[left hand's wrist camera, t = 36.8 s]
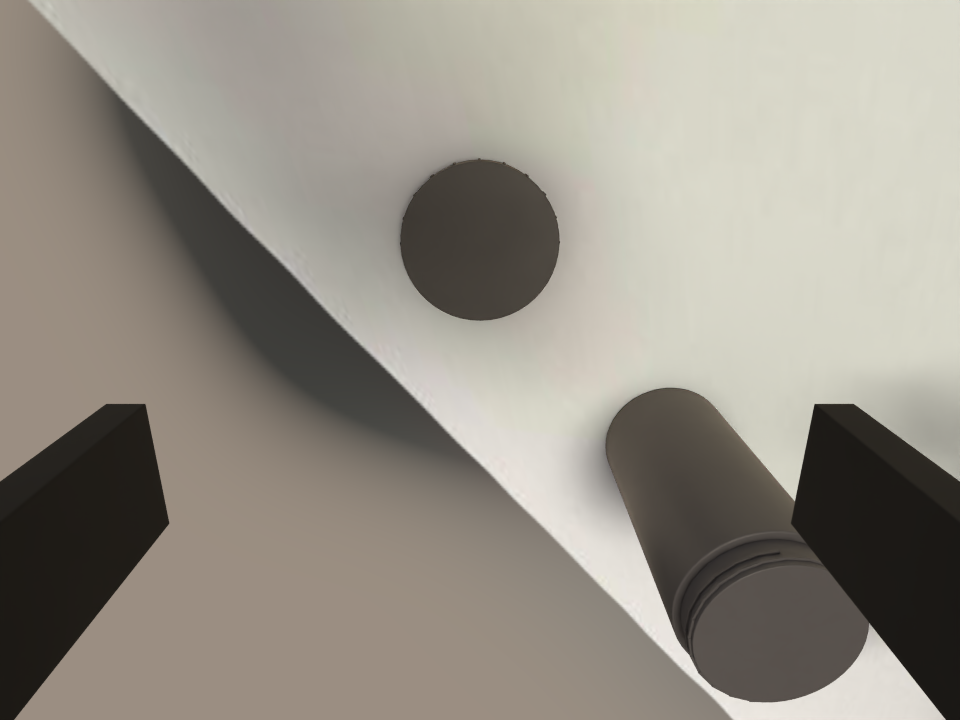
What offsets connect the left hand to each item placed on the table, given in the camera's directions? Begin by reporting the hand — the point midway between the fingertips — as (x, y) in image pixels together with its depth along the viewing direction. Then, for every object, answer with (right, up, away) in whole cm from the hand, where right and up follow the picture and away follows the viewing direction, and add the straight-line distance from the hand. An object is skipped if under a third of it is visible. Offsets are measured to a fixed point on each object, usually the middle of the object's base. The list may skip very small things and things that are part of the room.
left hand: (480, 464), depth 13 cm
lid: (0, +9, +26) cm, 27 cm away
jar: (+13, -4, +32) cm, 35 cm away
